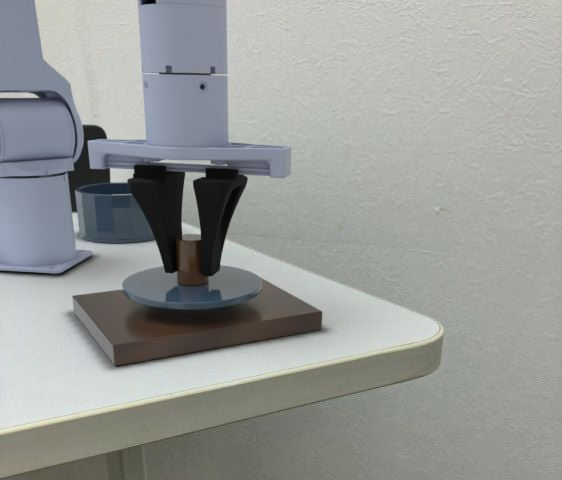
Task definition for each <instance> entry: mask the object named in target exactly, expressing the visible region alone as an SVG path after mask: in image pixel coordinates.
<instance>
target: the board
mask: <svg viewBox="0 0 562 480" xmlns="http://www.w3.org/2000/svg"><path fill="white" fill-rule="evenodd" d="M259 277H260V278H261V280H262V291H261V292H260V294H258V295H257V296H256V297H254V298H252V299H250V300H248V301H245V302H242V303H239V304H235V305H230V306H225V307H221V308H217V309H210V310H199V311H180V310H170V309H164V308H158V307H152V306H147V305H143V304H140V303H137V302H134V301H132V300H130V299H128V298H127V297H126V296H125V295H124V293H123V289H122V288H121V289H114V290H106V291H99V292H90V293H84V294H75V295H72V297H71V298H72V306H73V313H74V315H75V316H76V317H77V318H78V320H79V321H80V323H81V324H82V325H83V326H84V328H85V330H87V332H88V333H89V334H90V336H91V337H92V338H93V339H94V341H95V342H96V343H97V345H98V346H99V347H100V349H101V350H102V351H103V352H104V354H105V355H106V356H107V358H108V359H109V360H110V362H111V363H112V364H113V366H114V367H118V366H123V365H124V366H125V365H129V364H135V363H140V362H145V361H151V360H157V359H162V358H169V357H174V356H175V357H176V356H180V355H185V354H192V353H198V352H203V351H209V350H214V349H221V348H225V347H231V346H237V345H241V344H248V343H253V342H258V341H265V340H270V339H275V338H281V337H287V336H293V335H299V334H304V333H310V332H315V331H321V330H322V329H323V311H322V310H321V309H319V308H317V307H315V306H313V305H311V304H310V303H308V302H307V301H304V300H302V299H300V298H299V297H297V296H296V295H293V294H292V293H289V292H288V291H286V290H285V289H282V288H280V287H279V286H277V285H276V284H273V283H271V282H270V281H268V280H266V279H265V278H263V277H261V276H259Z"/></svg>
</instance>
